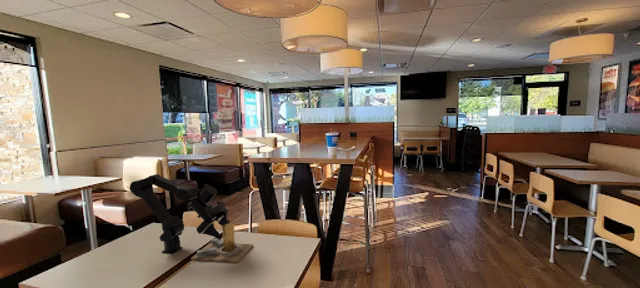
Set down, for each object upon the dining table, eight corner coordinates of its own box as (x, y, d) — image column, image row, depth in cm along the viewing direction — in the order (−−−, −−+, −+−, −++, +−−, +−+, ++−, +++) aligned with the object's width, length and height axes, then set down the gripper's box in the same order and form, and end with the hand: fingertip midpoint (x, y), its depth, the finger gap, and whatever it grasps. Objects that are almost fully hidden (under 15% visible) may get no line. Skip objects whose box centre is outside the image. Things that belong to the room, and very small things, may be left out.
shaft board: (191, 260, 123) (190, 252, 122) (211, 244, 138) (210, 237, 138) (238, 263, 119) (237, 255, 119) (253, 246, 135) (252, 239, 134)
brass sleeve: (223, 254, 125) (221, 228, 124) (224, 249, 130) (222, 224, 129) (234, 252, 126) (233, 226, 125) (235, 247, 131) (234, 222, 130)
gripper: (201, 203, 118) (227, 230, 117) (223, 192, 136) (246, 215, 135) (185, 220, 120) (210, 247, 119) (209, 207, 138) (231, 230, 137)
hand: (226, 233), depth 128 cm, fingers open, 9 cm apart
